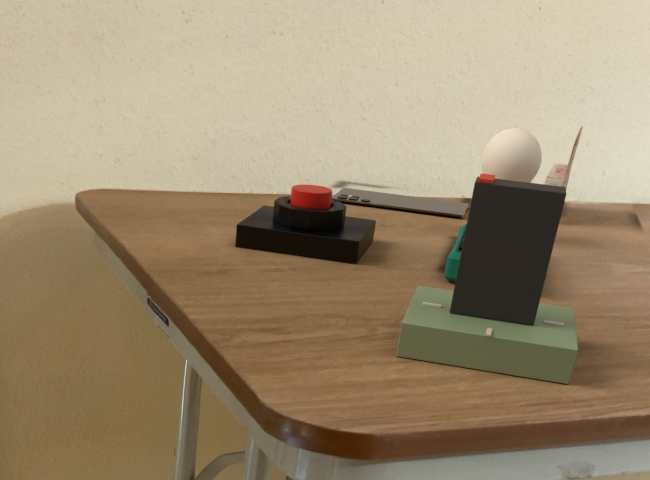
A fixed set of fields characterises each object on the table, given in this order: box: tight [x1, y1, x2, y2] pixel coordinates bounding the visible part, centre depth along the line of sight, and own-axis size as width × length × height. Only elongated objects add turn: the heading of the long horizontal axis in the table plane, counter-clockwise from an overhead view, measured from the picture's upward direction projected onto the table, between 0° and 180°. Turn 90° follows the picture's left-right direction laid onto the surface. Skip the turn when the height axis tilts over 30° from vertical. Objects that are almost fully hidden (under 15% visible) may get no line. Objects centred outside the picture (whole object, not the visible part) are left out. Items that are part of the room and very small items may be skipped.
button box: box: [234, 195, 377, 265], centre depth 88 cm, size 12×10×4 cm
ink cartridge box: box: [543, 125, 584, 190], centre depth 108 cm, size 2×11×10 cm, turn 159°
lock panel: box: [395, 285, 579, 385], centre depth 65 cm, size 12×10×3 cm
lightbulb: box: [481, 127, 543, 183], centre depth 95 cm, size 6×6×11 cm
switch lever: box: [450, 172, 567, 325], centre depth 62 cm, size 6×2×9 cm, turn 74°
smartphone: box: [332, 187, 470, 219], centre depth 109 cm, size 8×1×16 cm
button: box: [290, 184, 333, 209], centre depth 86 cm, size 4×4×2 cm
